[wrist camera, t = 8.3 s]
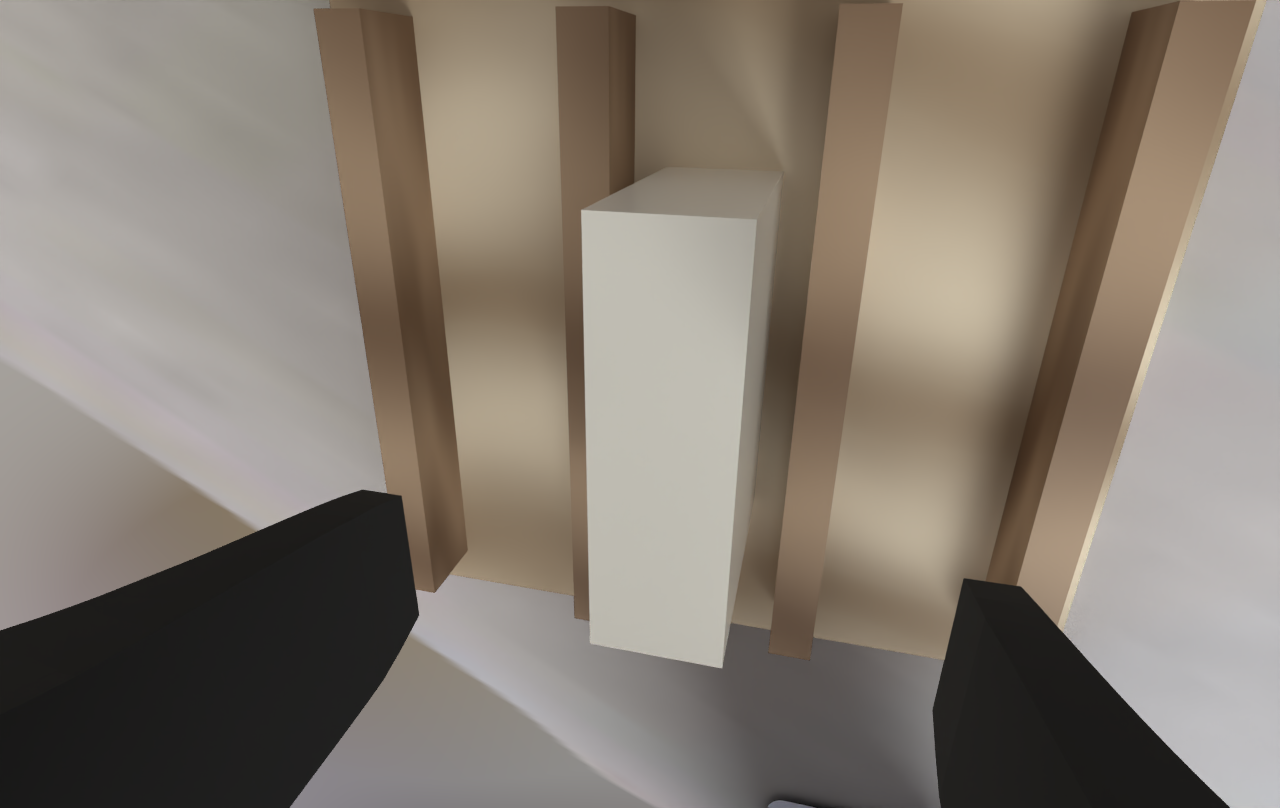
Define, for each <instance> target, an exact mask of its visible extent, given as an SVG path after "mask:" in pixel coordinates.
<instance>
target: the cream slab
mask: <svg viewBox="0 0 1280 808" xmlns="http://www.w3.org/2000/svg"><path fill="white" fill-rule="evenodd" d="M783 176H784V171H763V170H738V169H712V168H687V167H666V168H664V169H662V170H660V171H658V172H656V173H654V174H652V175H650V176H648V177H646V178H644V179H642V180H640V181H638V182H636V183H634V184H632V185H630V186H628V187H626V188H624V189H622V190H620V191H618V192H616V193H614V194H612V195H610V196H608V197H606V198H604V199H602V200H600V201H598V202H596V203H594V204H592V205H590V206H588V207H586V208H584V209H582V210H581V225H582V274H583V322H584V371H585V419H586V468H587V516H588V565H589V613H590V644H594V645H599V646H605V647H610V648H615V649H621V650H626V651H631V652H637V653H642V654H647V655H653V656H658V657H663V658H669V659H674V660H679V661H685V662H690V663H695V664H701V665H706V666H711V667H717V668H722V666H723V661H724V656H725V651H726V645H727V640H728V635H729V630H730V624H731V619H732V614H733V609H734V603H735V598H736V593H737V588H738V582H739V577H740V572H741V567H742V561H743V556H744V551H745V546H746V540H747V535H748V530H749V525H750V519H751V514H752V509H753V504H754V498H755V487H756V476H757V465H758V453H759V442H760V431H761V420H762V409H763V398H764V387H765V376H766V365H767V354H768V343H769V332H770V320H771V309H772V298H773V287H774V276H775V265H776V254H777V243H778V232H779V221H780V210H781V199H782V188H783Z"/></svg>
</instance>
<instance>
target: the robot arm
mask: <svg viewBox="0 0 1280 808" xmlns="http://www.w3.org/2000/svg"><path fill="white" fill-rule="evenodd" d="M418 616H419V610H418V603H417V597H416V590H415V583H414V576H413V569H412V562H411V556H410V549H409V542H408V535H407V528H406V521H405V515H404V508H403V501H402V496H401V495H395V494H388V493H381V492H374V491H367V490H360V491H357V492H354V493H351V494H348V495H345V496H342V497H339V498H337V499H334V500H331V501H329V502H326V503H324V504H321V505H319V506H316V507H314V508H311V509H309V510H306V511H304V512H302V513H299V514H297V515H295V516H292V517H290V518H287V519H285V520H283V521H280V522H278V523H276V524H273V525H271V526H269V527H266V528H264V529H262V530H259V531H257V532H255V533H252V534H250V535H248V536H245V537H243V538H241V539H239V540H236V541H234V542H232V543H229V544H227V545H225V546H222V547H220V548H218V549H215V550H213V551H211V552H208V553H206V554H204V555H201V556H199V557H197V558H194V559H192V560H189V561H187V562H184V563H182V564H179V565H177V566H174V567H172V568H169V569H167V570H164V571H161V572H159V573H156V574H154V575H152V576H149V577H147V578H144V579H141V580H139V581H137V582H134V583H132V584H129V585H127V586H124V587H121V588H119V589H116V590H114V591H111V592H109V593H106V594H104V595H101V596H99V597H96V598H93V599H90V600H88V601H85V602H82V603H80V604H77V605H74V606H71V607H69V608H66V609H63V610H60V611H57V612H55V613H52V614H49V615H46V616H43V617H40V618H37V619H34V620H31V621H28V622H25V623H22V624H19V625H16V626H13V627H10V628H7V629H4V630H1V631H0V808H290V806H291V805H292V803H293V802H294V801H295V799H296V798H297V797H298V795H299V794H300V793H301V791H302V790H303V789H304V787H305V786H306V785H307V783H308V782H309V781H310V779H311V778H312V776H313V775H314V774H315V773H316V771H317V770H318V768H319V767H320V766H321V764H322V763H323V762H324V761H325V759H326V758H327V756H328V755H329V754H330V753H331V751H332V750H333V748H334V747H335V746H336V744H337V743H338V742H339V740H340V739H341V738H342V736H343V735H344V734H345V732H346V731H347V730H348V728H349V727H350V725H351V724H352V723H353V721H354V720H355V719H356V717H357V716H358V715H359V713H360V712H361V710H362V709H363V708H364V706H365V705H366V704H367V702H368V701H369V699H370V698H371V697H372V695H373V694H374V692H375V691H376V690H377V688H378V687H379V685H380V684H381V682H382V681H383V680H384V678H385V676H386V674H387V673H388V671H389V669H390V668H391V666H392V664H393V662H394V661H395V659H396V657H397V655H398V654H399V652H400V650H401V648H402V646H403V645H404V642H405V641H406V639H407V637H408V635H409V633H410V631H411V630H412V628H413V626H414V624H415V622H416V620H417V618H418ZM933 723H934V738H935V752H936V765H937V776H938V788H939V798H940V803H941V808H1230V807H1229V806H1228V805H1227V804H1226V803H1225V802H1224V801H1223V800H1222V799H1221V798H1219V797H1218V796H1217V795H1216V794H1215V793H1214V792H1213V791H1212V790H1211V789H1210V788H1209V787H1208V786H1207V785H1206V784H1205V783H1204V782H1203V781H1202V780H1201V779H1200V778H1199V777H1198V776H1197V775H1196V774H1195V773H1194V772H1193V771H1192V770H1191V769H1190V768H1189V767H1188V766H1187V765H1186V764H1185V763H1184V762H1183V761H1182V760H1181V759H1180V758H1179V757H1178V756H1177V755H1176V754H1175V753H1174V752H1173V751H1172V750H1171V749H1170V748H1169V747H1168V746H1167V745H1166V744H1165V743H1164V742H1163V741H1162V740H1161V738H1160V737H1159V736H1158V735H1157V734H1156V733H1155V732H1154V731H1153V730H1152V729H1151V728H1150V727H1149V726H1148V725H1147V724H1146V723H1145V722H1144V721H1143V720H1142V719H1141V718H1140V717H1139V715H1138V714H1137V713H1136V712H1135V711H1134V710H1133V709H1132V708H1131V707H1130V706H1129V705H1128V704H1127V703H1126V702H1125V701H1124V699H1123V698H1122V697H1121V696H1120V695H1119V694H1118V693H1117V692H1116V691H1115V690H1114V689H1113V688H1112V686H1111V685H1110V684H1109V683H1108V682H1107V681H1106V680H1105V679H1104V678H1103V677H1102V676H1101V675H1100V673H1099V672H1098V671H1097V670H1096V669H1095V668H1094V667H1093V666H1092V665H1091V663H1090V662H1089V661H1088V660H1087V659H1086V658H1085V657H1084V656H1083V655H1082V653H1081V652H1080V651H1079V650H1078V649H1077V648H1076V647H1075V646H1074V645H1073V643H1072V642H1071V641H1070V640H1069V639H1068V638H1067V637H1066V636H1065V634H1064V633H1063V632H1062V631H1061V630H1060V629H1059V628H1058V627H1057V625H1056V624H1055V623H1054V622H1053V621H1052V620H1051V619H1050V618H1049V616H1048V615H1047V614H1046V613H1045V612H1044V611H1043V610H1042V609H1041V607H1040V606H1039V605H1038V604H1037V603H1036V602H1035V601H1034V600H1033V599H1032V598H1031V596H1030V595H1029V594H1028V593H1027V592H1026V591H1025V590H1024V589H1023V588H1022V587H1021V586H1014V585H1007V584H1001V583H994V582H987V581H980V580H973V579H967V578H964V579H963V583H962V587H961V591H960V596H959V600H958V604H957V608H956V613H955V617H954V621H953V625H952V630H951V634H950V638H949V643H948V647H947V651H946V655H945V660H944V664H943V668H942V672H941V677H940V681H939V685H938V689H937V694H936V698H935V702H934V706H933ZM768 808H815V807H810V806H806V805H801V804H797V803H792V802H788V801H782V800H778V801H773V802H772V803H770V804H769V805H768Z"/></svg>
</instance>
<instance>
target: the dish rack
mask: <svg viewBox="0 0 1280 808" xmlns="http://www.w3.org/2000/svg"><path fill="white" fill-rule="evenodd" d="M329 1H330V8H328V9H314V15H315V21H316V28H317V34H318V41H319V47H320V54H321V60H322V67H323V74H324V80H325V87H326V93H327V100H328V106H329V113H330V120H331V126H332V133H333V139H334V146H335V152H336V159H337V165H338V172H339V179H340V185H341V192H342V198H343V205H344V211H345V218H346V225H347V231H348V238H349V244H350V251H351V257H352V264H353V270H354V277H355V284H356V290H357V297H358V303H359V310H360V316H361V323H362V329H363V336H364V343H365V349H366V356H367V362H368V369H369V375H370V382H371V389H372V395H373V402H374V408H375V415H376V421H377V428H378V434H379V441H380V448H381V454H382V461H383V467H384V474H385V480H386V487H387V493H388V494H395V495H401V496H402V501H403V508H404V515H405V521H406V528H407V535H408V542H409V549H410V556H411V562H412V569H413V576H414V583H415V589H416V590H422V591H427V592H433V593H435V592H436V591H437V589H438V588H439V587H440V586H441V584H442V583H443V582H444V580H445V579H446V578H447V577H448V575H449V574H451V575H457V576H463V577H468V578H474V579H480V580H486V581H491V582H497V583H503V584H509V585H514V586H520V587H526V588H532V589H537V590H543V591H549V592H555V593H560V594H566V595H572V596H574V615H575V618H577V619H583V620H588V621H590V613H589V565H588V516H587V468H586V419H585V371H584V322H583V274H582V225H581V210H582V209H584V208H586V207H588V206H590V205H592V204H594V203H596V202H598V201H600V200H602V199H604V198H606V197H608V196H610V195H612V194H614V193H616V192H618V191H620V190H622V189H624V188H626V187H628V186H630V185H632V184H634V183H636V182H638V181H640V180H642V179H644V178H646V177H648V176H650V175H652V174H654V173H656V172H658V171H660V170H662V169H664V168H666V167H687V168H712V169H738V170H763V171H784V176H783V188H782V199H781V210H780V221H779V232H778V243H777V254H776V265H775V276H774V287H773V298H772V309H771V320H770V332H769V343H768V354H767V365H766V376H765V387H764V398H763V409H762V420H761V431H760V442H759V453H758V465H757V476H756V487H755V498H754V504H753V509H752V514H751V519H750V525H749V530H748V535H747V540H746V546H745V551H744V556H743V561H742V567H741V572H740V577H739V582H738V588H737V593H736V598H735V603H734V609H733V614H732V619H731V623H733V624H739V625H745V626H750V627H756V628H762V629H768V630H771V633H770V642H769V651H768V653H771V654H776V655H782V656H788V657H793V658H799V659H804V660H810V655H811V648H812V641H813V637H814V638H819V639H825V640H831V641H837V642H843V643H848V644H854V645H860V646H866V647H871V648H877V649H883V650H889V651H894V652H900V653H906V654H912V655H917V656H923V657H929V658H935V659H940V660H945V655H946V651H947V647H948V643H949V638H950V634H951V630H952V625H953V621H954V617H955V613H956V608H957V604H958V600H959V596H960V591H961V587H962V583H963V579H964V578H967V579H973V580H980V581H987V582H994V583H1001V584H1007V585H1014V586H1021V587H1022V588H1023V589H1024V590H1025V591H1026V592H1027V593H1028V594H1029V595H1030V596H1031V598H1032V599H1033V600H1034V601H1035V602H1036V603H1037V604H1038V605H1039V606H1040V607H1041V609H1042V610H1043V611H1044V612H1045V613H1046V614H1047V615H1048V616H1049V618H1050V619H1051V620H1052V621H1053V622H1054V623H1055V624H1056V625H1057V627H1058V628H1059V629H1060V630H1061V631H1062V632H1063V629H1064V626H1065V623H1066V620H1067V617H1068V614H1069V611H1070V608H1071V604H1072V601H1073V598H1074V595H1075V592H1076V589H1077V586H1078V583H1079V580H1080V577H1081V573H1082V570H1083V567H1084V564H1085V561H1086V558H1087V555H1088V552H1089V549H1090V546H1091V543H1092V539H1093V536H1094V533H1095V530H1096V527H1097V524H1098V521H1099V518H1100V515H1101V512H1102V508H1103V505H1104V502H1105V499H1106V496H1107V493H1108V490H1109V487H1110V484H1111V481H1112V477H1113V474H1114V471H1115V468H1116V465H1117V462H1118V459H1119V456H1120V453H1121V450H1122V447H1123V443H1124V440H1125V437H1126V434H1127V431H1128V428H1129V425H1130V422H1131V419H1132V416H1133V412H1134V409H1135V406H1136V403H1137V400H1138V397H1139V394H1140V391H1141V388H1142V385H1143V381H1144V378H1145V375H1146V372H1147V369H1148V366H1149V363H1150V360H1151V357H1152V354H1153V351H1154V347H1155V344H1156V341H1157V338H1158V335H1159V332H1160V329H1161V326H1162V323H1163V320H1164V316H1165V313H1166V310H1167V307H1168V304H1169V301H1170V298H1171V295H1172V292H1173V289H1174V285H1175V282H1176V279H1177V276H1178V273H1179V270H1180V267H1181V264H1182V261H1183V258H1184V255H1185V251H1186V248H1187V245H1188V242H1189V239H1190V236H1191V233H1192V230H1193V227H1194V224H1195V220H1196V217H1197V214H1198V211H1199V208H1200V205H1201V202H1202V199H1203V196H1204V193H1205V189H1206V186H1207V183H1208V180H1209V177H1210V174H1211V171H1212V168H1213V165H1214V162H1215V159H1216V155H1217V152H1218V149H1219V146H1220V143H1221V140H1222V137H1223V134H1224V131H1225V128H1226V124H1227V121H1228V118H1229V115H1230V112H1231V109H1232V106H1233V103H1234V100H1235V97H1236V93H1237V90H1238V87H1239V84H1240V81H1241V78H1242V75H1243V72H1244V69H1245V66H1246V63H1247V59H1248V56H1249V53H1250V50H1251V47H1252V44H1253V41H1254V38H1255V35H1256V32H1257V28H1258V25H1259V22H1260V19H1261V16H1262V13H1263V10H1264V7H1265V4H1266V1H1267V0H329Z"/></svg>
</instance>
